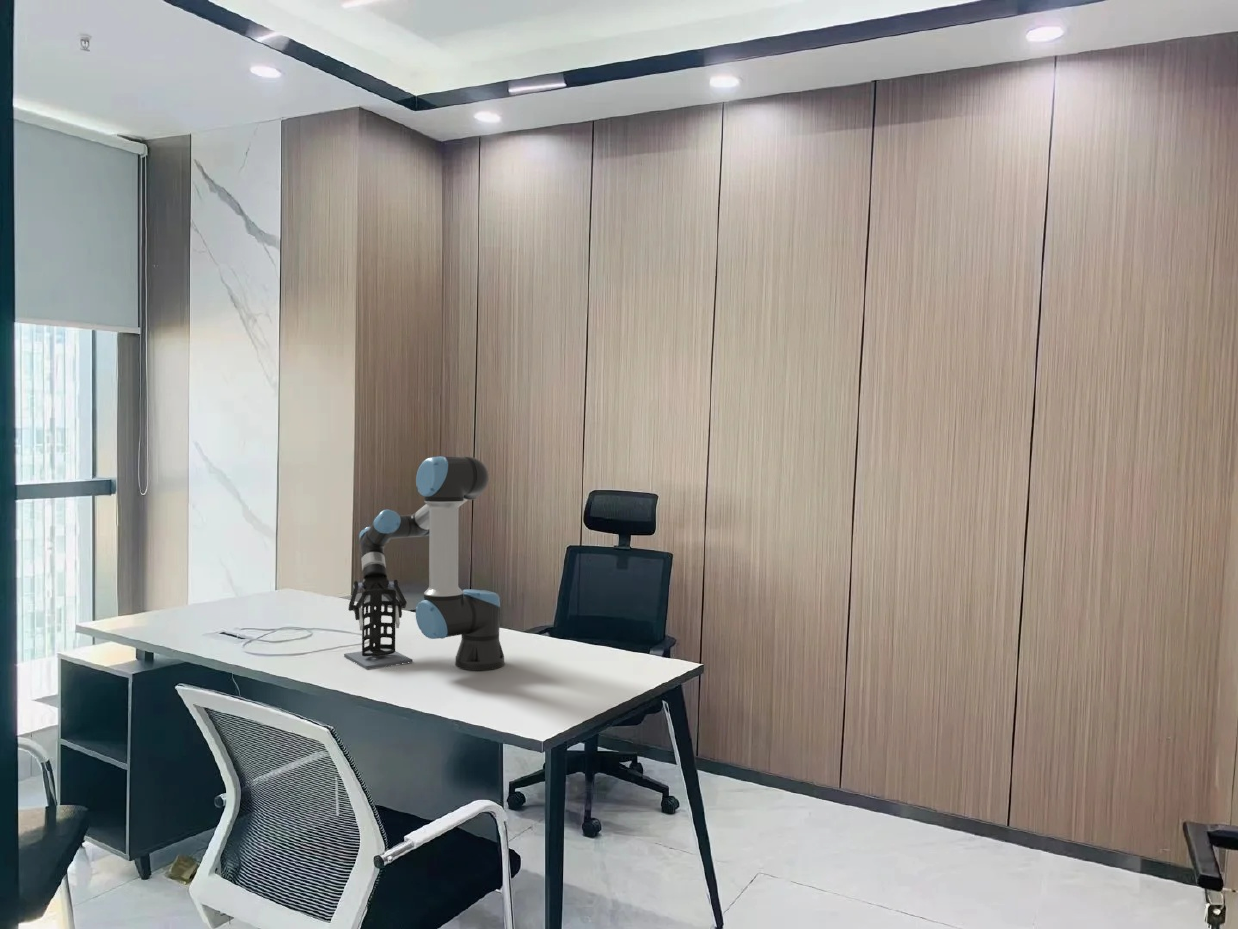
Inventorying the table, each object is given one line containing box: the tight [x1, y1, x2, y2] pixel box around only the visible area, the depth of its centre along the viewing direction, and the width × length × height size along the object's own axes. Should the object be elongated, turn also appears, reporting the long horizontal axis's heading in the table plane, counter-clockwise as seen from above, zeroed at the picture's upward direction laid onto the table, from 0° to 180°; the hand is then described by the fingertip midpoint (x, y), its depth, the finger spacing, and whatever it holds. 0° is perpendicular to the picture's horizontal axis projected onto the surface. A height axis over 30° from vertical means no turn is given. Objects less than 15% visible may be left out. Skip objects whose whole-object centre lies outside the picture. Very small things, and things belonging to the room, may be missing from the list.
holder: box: [361, 588, 397, 656], centre depth 279 cm, size 11×8×20 cm
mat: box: [343, 649, 414, 670], centre depth 279 cm, size 18×15×1 cm
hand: (379, 626), depth 276 cm, fingers closed on holder, 10 cm apart
